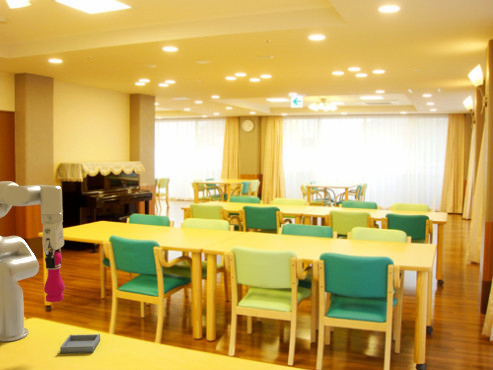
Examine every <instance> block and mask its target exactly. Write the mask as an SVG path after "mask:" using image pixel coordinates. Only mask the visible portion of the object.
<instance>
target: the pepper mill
mask: <svg viewBox="0 0 493 370" xmlns="http://www.w3.org/2000/svg"><path fill="white" fill-rule="evenodd" d="M50 249H52V248H50ZM50 252H51V254H52V251H50ZM54 257H55V268H46V270H47V277H46V280H45V283H44V286H43V290H44V293H45V294H46V296H45V302H48V303H57V302H60V301H63V300H64V295H65V294H64V291H65V289H66V287H65V283H64V280H63V279H62V276H61V272H60V271H61V270H60V268H62V266H61V265H62V260H63V256H62V253H59V252H56V251H55V249H54ZM44 262H45V263H46V258H45V257H44ZM60 262H61V264H60Z"/></svg>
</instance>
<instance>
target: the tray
mask: <svg viewBox="0 0 493 370" xmlns="http://www.w3.org/2000/svg"><path fill="white" fill-rule="evenodd" d="M100 342H101V334H99V333H98V334H97V333H96V334H69V335H68V337H67V338H66V339H65V340H64V342H63V343H62V344H61V346H60V355H62V354H63V355H65V354H93V353H94V352H95V350H96V348H97V346H98V345H99V343H100Z"/></svg>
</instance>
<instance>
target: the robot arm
mask: <svg viewBox="0 0 493 370" xmlns="http://www.w3.org/2000/svg"><path fill="white" fill-rule="evenodd" d="M37 205H40V221H41V224H42V247H43V252H44V259H45V258H46V262H45V269H47V268H55V257H54V249H55V251H56V252H59V253H60V254H62V249H61V248H62V247H64V245H65V235H64V227H63V222H64V220H63V218H64V217H63V216H64V215H63V214H64V213H63V212H64V210H63V190H62V187H61V186H60V185H48V184H32V185H31V184H30V185H19V184H18V183H16V182H14V181H11V180H6V181H5V180H4V181H0V219H2V218H3V217H5V216H6V215H7V214H8V213H9V212H10V210H11V209H12V207H27V206H37ZM51 248H52V249H51ZM51 251H52V254H51ZM60 264H61V265H62V261H61V262H60ZM39 270H40V263H39V261H38V259H37V257H36V256H35V254H34V252H33V251H32V250H31V248H30V247H29V245H28V243H27V242H26V241H25V240H24V239H23V238H22V236H21V237H20V236H18V235H9V236H1V235H0V342H2V343H3V342H12V341H13V342H14V341H17V340H21V339H24V338H25V337H27V336H28V335H29V329H28V328H26V327H25V313H24V312H25V305H24V290H23V288H22V286H21V285H20V284H19V283H18V281H19V282H20V281H21V280H25V279H30V278H32V277H34V276H36V275H37V274H38V273H39Z"/></svg>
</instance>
